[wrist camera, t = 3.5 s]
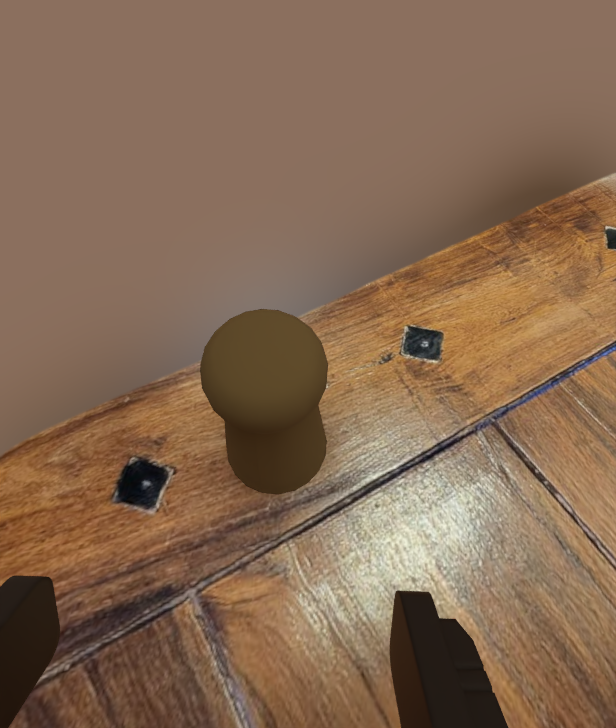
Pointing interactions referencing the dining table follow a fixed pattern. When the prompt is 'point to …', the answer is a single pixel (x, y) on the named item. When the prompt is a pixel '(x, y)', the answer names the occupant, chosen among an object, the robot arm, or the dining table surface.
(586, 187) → the dining table surface
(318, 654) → the dining table surface
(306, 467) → the cork
